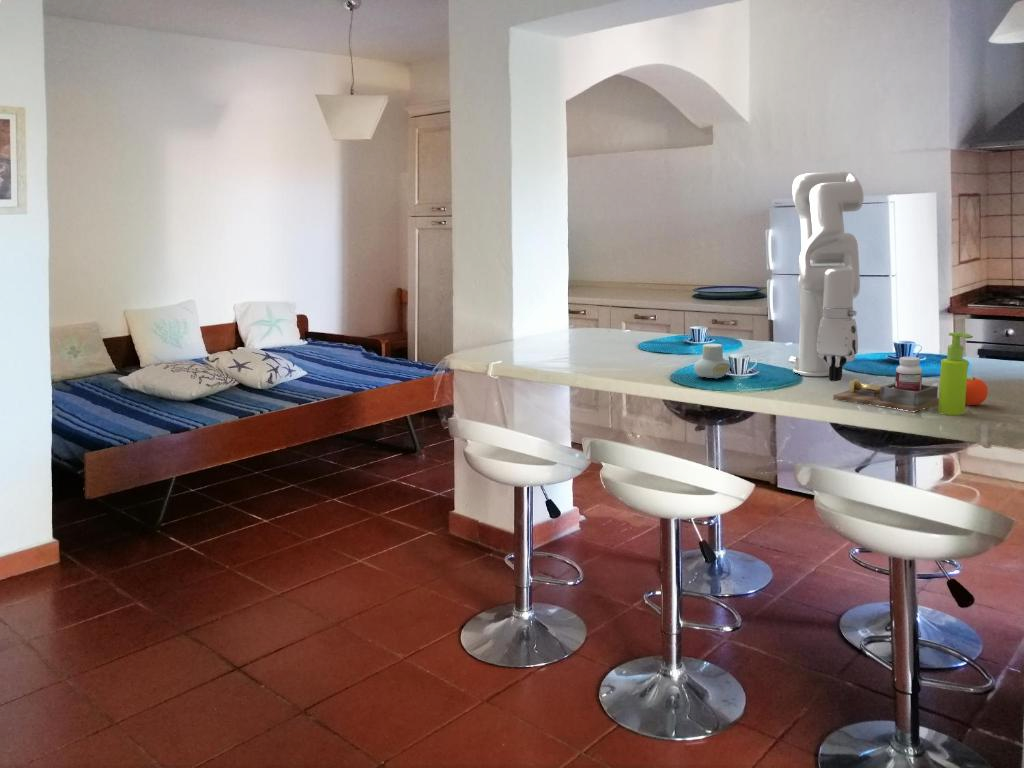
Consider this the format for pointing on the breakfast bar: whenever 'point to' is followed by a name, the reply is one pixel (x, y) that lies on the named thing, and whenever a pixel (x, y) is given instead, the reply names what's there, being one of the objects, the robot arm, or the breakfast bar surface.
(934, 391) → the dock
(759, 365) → the breakfast bar surface
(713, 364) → the air freshener
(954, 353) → the soap dispenser
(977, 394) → the clementine
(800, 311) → the robot arm
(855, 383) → the lock pin
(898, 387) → the pill bottle
